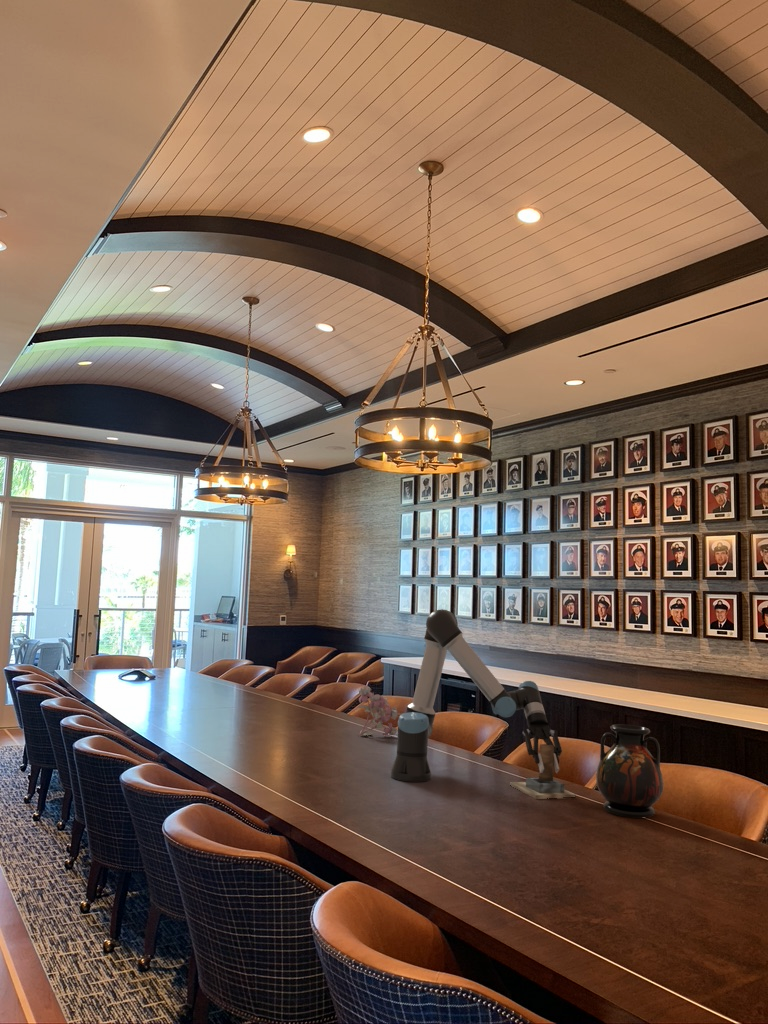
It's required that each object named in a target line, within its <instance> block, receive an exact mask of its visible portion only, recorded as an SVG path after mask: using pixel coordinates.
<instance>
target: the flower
mask: <svg viewBox="0 0 768 1024" xmlns="http://www.w3.org/2000/svg"><path fill="white" fill-rule="evenodd" d="M360 687H361V688H360V689H358V693H359V695H360V697H359V698H358V702H359V703H361V704H362V703H364V704H363V705H359V706H358V707H357V709H356V710H359V709H363V708H364V709H365V710H364V713H367V717H366V721H365V723H364V726H363V727H362V729H361V730H360V732H359V734H358V735H357V737H358V736H359V737H362V736H366V735H367V736H366V737H369V736H368V735H371V736H372V735H373V732H371V731H372V730H375V729H376V728H378V729H380V728H384V729H383V732H382V735H383V736H384V735H385V736H388V734H389V735H394V736H398V733H397V731H398V727H393V723H392V722H388V721H390V719H392V720H397V718H399V716H398V715H399V713H398V711H399V710H397V709H398V707H394V706H393V707H391V705H390V704H389V702H388V697H386V698H385V697H384V694H382V695H381V694H378V693H377V694H375V693H374V691H373V692H371V688H370V687H367V686H363V685H361V686H360ZM369 701H370V702H369ZM365 704H366V705H365ZM367 704H368V705H367ZM370 715H371V716H372V719H370ZM387 722H388V723H387ZM384 723H387V726H388V727H386V726H384V725H383V724H384ZM371 724H373V727H372V728H369V729H368V727H369V726H370V725H371Z"/></svg>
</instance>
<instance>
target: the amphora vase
mask: <svg viewBox="0 0 768 1024" xmlns="http://www.w3.org/2000/svg"><path fill="white" fill-rule="evenodd" d="M609 727H610V729H611V731H613V732H614V733H615V734H616V735H614V734H613V733H611V732H605V733H604V734H603V735H602V737H601V739H600V747H599V748H600V751H599V752H600V753H599V762H598V766H597V770H596V774H595V775H596V777H595V779H596V786H597V789H598V791H599V792H600V793H599V794H600V795H601V796H602V798H603V799H604V800H606V801H605V802H604V803H603V804H602V805H603V808H604V810H605V811H606V812H608V813H610V814H612V815H615V816H618V815H619V817H623V816H624V818H629V817H633V818H632V819H643V818H642V817H648V818H650V817H649V816H651V817H653V816H654V815H655V813H656V812H655V809H654V808H655V807H653V806H654V805H656V803H657V802H658V801H659V799H660V798H661V797H662V794H663V791H664V780H663V774H662V771H661V749H660V743H659V742H658V739H657V738H655V737H652V736H649V737H647V738H645V736H646V735H649V734H650V733H651V730H650V729H649V727H648V728H647V727H645V726H641V725H633V724H619V723H618V724H612V725H610V726H609ZM607 737H611V738H612V740H613V744H612V746H611V747H610V748H609V749H607V751H605V741H606V738H607ZM644 738H645V739H644ZM648 742H652V743H654V745H655V758H654V756H653V755H652V754H651V752H650V751H649V750H648V748H647V745H648ZM652 815H653V816H652Z"/></svg>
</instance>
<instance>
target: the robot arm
mask: <svg viewBox="0 0 768 1024" xmlns="http://www.w3.org/2000/svg"><path fill="white" fill-rule="evenodd" d="M425 625H426V626H425V627H426V629H425V633H424V638H423V640H424V642H425V644H426V645H425V650H424V654H423V657H422V661H421V666H420V669H419V673H418V678H417V681H416V685H415V690H414V695H413V698H412V702H411V703H409V704H408V705H406V706H407V707H406V710H405V712H404V713H400V714H399V716H398V721H397V741H396V743H397V744H396V755H395V756H396V757H395V759H394V762H393V765H392V767H391V770H390V778H392V779H394V780H398V781H402V782H403V781H404V782H409V783H410V782H411V783H412V782H415V783H418V782H420V783H421V782H422V783H423V782H427V781H430V780H431V779H432V776H431V775H432V773H431V769H430V764H429V760H428V746H429V745H428V744H429V743H428V742H429V739H430V737H431V735H432V733H433V728H434V725H433V724H434V720H435V717H436V711H435V710H434V705H435V700H436V696H437V692H438V689H439V684H440V681H441V680H440V679H441V677H442V672H443V669H444V665H445V660H446V655H447V652H449V654H451V656H452V657H453V658H454V660H455V661H456V662H457V663H458V665H459V666H460V667H461V668H462V669H463V671H464V672H465V673H466V674H467V676H468V677H469V678H470V679H471V681H472V682H473V683H474V684H475V686H477V688H478V689H479V690H480V691H481V693H482V694H483V695H484V696H485V698H486V699H487V700H488V702H489V703H490V705H491V710H492V712H493V714H494V715H499V716H500V717H502V718H510V717H512V716H513V715H514V714H515V712H516V711H519V710H523V711H524V712H523V713H524V716H525V719H526V725H527V727H528V728H527V729H526V728H523V730H522V733H521V735H522V736H523V738H524V741H525V742H524V743H525V747H526V750H527V755H529V756H532V757H533V759H534V762H535V764H537V765H538V770H539V769H540V773H543V770H544V766H543V762H542V758H541V754H540V752H539V740H542V741H543V742H544V744H547V745H553V746H554V761H553V771H554V773H555V774H558V773H559V771H560V766H559V763H560V759H559V758H560V757H559V756H561V755H562V752H563V749H562V746H561V742H560V738H559V735H558V734H559V733H558V732H559V731H558V729H554V730H553V729H551V728H550V726H549V723H548V719H547V716H546V712H545V708H544V704H543V700H542V697H541V693H540V690H539V687H538V685H537V683H536V682H535V681H532V680H525V681H523V682H522V683H520V684H519V686H518V689H516V690H511V691H507V690H506V689H505V687H504V686H503V685H502V684H501V683H500V682H499V681H498V679H497V678H496V676H495V675H494V674H493V672H491V670H490V669H489V667H487V665H486V664H485V663H484V662H483V661H482V659H481V658H480V657H479V655H478V654H477V653H476V652H475V651H474V649H473V648H472V647H471V646H470V645H469V643H468V642H467V641H466V640H465V638H464V637H463V632H462V631H461V629H460V628H459V623H458V618H457V617H456V615H455V614H454V613H453V612H451V611H450V610H447V609H444V608H443V609H442V608H441V609H436V610H434V611H433V610H432V612H430V613H429V615H428V616H427V618H426V622H425ZM530 735H531V736H532V737H533V745H532V741H531V736H530ZM550 735H551V736H550ZM551 737H552V739H551Z"/></svg>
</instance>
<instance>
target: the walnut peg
mask: <svg viewBox="0 0 768 1024" xmlns="http://www.w3.org/2000/svg"><path fill="white" fill-rule="evenodd" d="M554 746H555V745H554ZM554 746H553V745H547V744H546V743H544V744H542V743H541V744H539V753H540V754H541V758H542V762H543V766H544V770H543V773H540V769H539V768H538V778H539V779H540V780H543V781H553V779H554V766H553V761H554Z"/></svg>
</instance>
